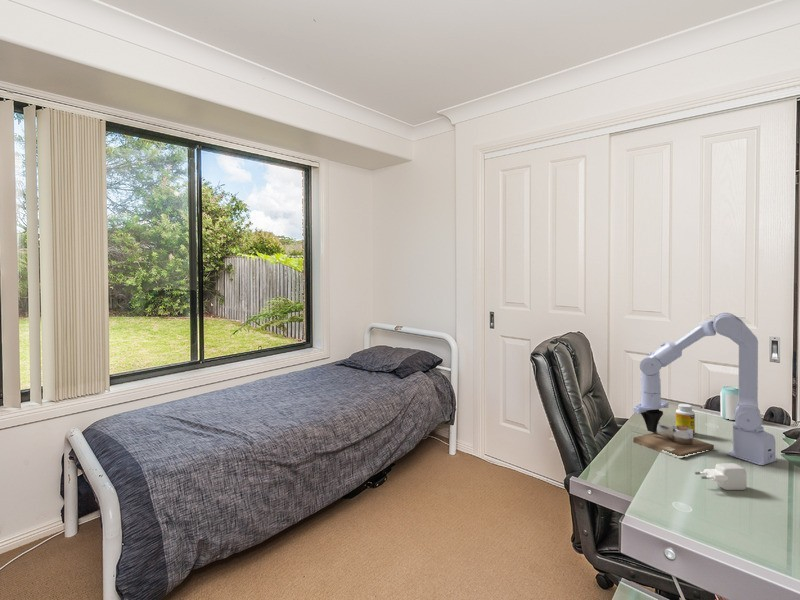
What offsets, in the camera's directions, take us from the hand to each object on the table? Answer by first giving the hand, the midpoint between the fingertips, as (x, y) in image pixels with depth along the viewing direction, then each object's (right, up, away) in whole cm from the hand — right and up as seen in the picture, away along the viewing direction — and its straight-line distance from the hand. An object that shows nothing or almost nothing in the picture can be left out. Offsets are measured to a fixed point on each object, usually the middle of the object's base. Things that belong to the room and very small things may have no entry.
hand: (651, 431), depth 143 cm
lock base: (+4, -3, -5) cm, 7 cm away
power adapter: (-2, -5, -33) cm, 33 cm away
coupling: (+5, -1, -2) cm, 6 cm away
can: (+42, -1, +18) cm, 46 cm away
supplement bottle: (+15, -3, +5) cm, 16 cm away
